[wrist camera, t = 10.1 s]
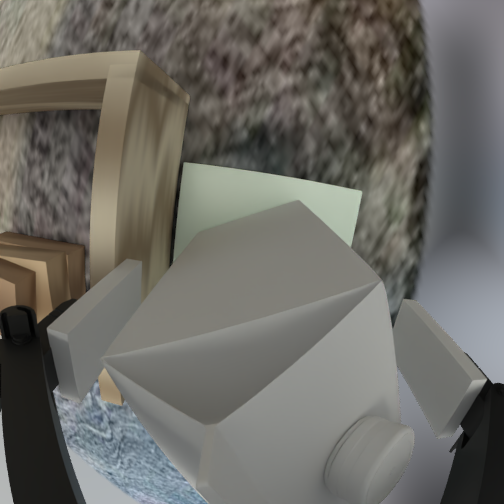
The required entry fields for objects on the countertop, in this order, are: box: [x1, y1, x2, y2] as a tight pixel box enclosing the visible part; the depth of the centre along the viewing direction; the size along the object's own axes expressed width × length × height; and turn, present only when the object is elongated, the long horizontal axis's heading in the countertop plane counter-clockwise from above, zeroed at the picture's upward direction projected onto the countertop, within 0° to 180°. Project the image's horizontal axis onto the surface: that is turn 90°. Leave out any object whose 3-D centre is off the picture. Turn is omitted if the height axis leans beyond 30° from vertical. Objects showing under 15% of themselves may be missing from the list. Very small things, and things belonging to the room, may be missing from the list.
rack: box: [0, 50, 190, 405], centre depth 17 cm, size 17×23×10 cm
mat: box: [173, 162, 362, 263], centre depth 22 cm, size 12×12×1 cm
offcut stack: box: [0, 231, 86, 335], centre depth 20 cm, size 6×9×8 cm, turn 81°
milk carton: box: [100, 200, 415, 504], centre depth 13 cm, size 7×7×19 cm
